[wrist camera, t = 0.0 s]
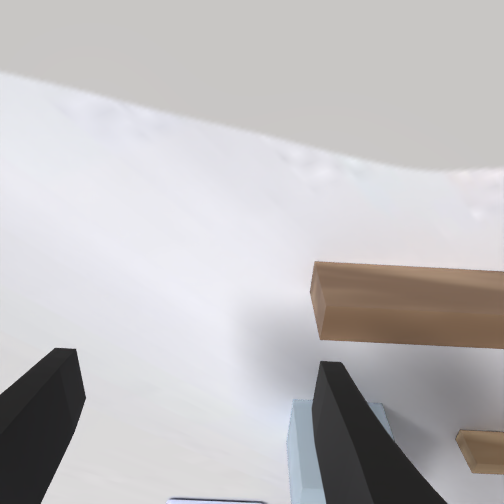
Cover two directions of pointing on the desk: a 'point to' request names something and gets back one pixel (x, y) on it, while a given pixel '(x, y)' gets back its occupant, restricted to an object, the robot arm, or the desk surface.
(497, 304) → the wooden frame
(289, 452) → the cabinet block
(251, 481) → the desk surface
